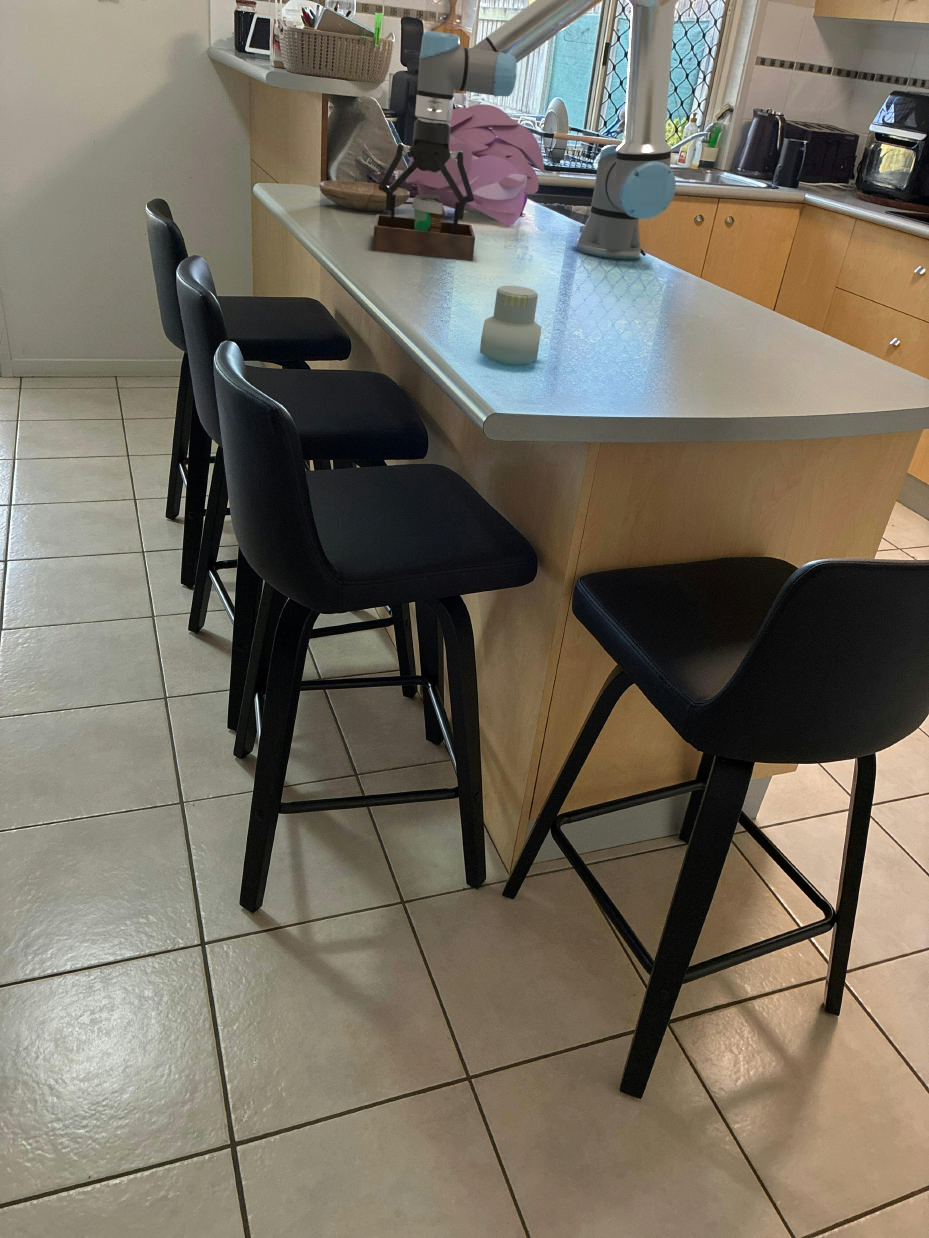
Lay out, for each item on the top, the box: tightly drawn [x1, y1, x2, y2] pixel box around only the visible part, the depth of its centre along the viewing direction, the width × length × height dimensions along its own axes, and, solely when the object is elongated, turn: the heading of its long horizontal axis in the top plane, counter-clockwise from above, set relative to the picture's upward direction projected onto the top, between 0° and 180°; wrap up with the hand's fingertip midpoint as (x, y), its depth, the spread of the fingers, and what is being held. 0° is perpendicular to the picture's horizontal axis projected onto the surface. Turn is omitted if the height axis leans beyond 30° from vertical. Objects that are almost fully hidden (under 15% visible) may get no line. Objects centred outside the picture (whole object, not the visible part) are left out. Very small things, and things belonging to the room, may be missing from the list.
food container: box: [411, 194, 444, 233], centre depth 197 cm, size 12×6×10 cm, turn 5°
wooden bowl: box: [318, 179, 410, 212], centre depth 237 cm, size 23×24×5 cm
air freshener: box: [479, 285, 542, 366], centre depth 132 cm, size 11×8×10 cm
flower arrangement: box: [405, 103, 546, 228], centre depth 238 cm, size 35×24×28 cm
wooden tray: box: [372, 213, 476, 262], centre depth 198 cm, size 21×15×5 cm
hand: (422, 232), depth 198 cm, fingers open, 13 cm apart
